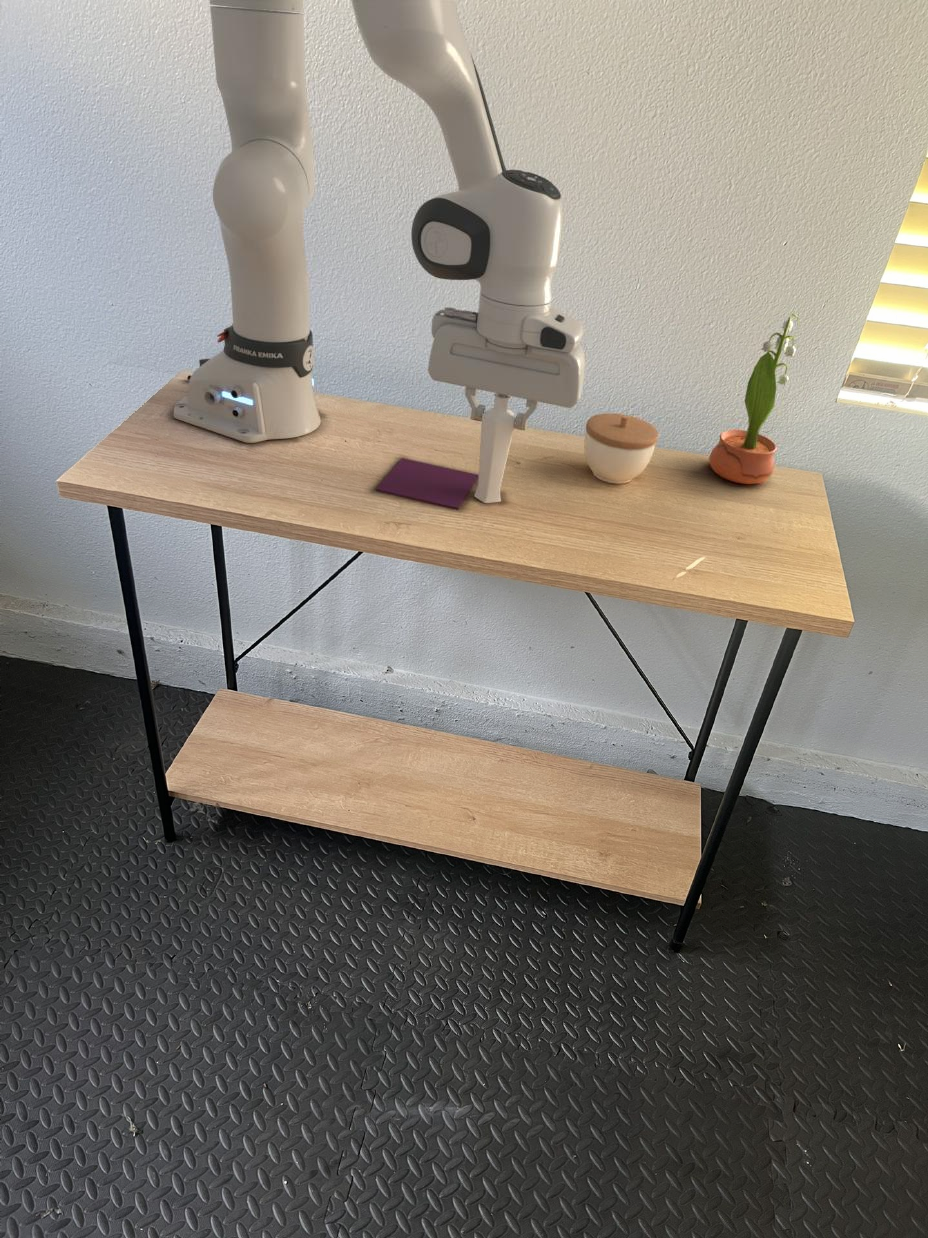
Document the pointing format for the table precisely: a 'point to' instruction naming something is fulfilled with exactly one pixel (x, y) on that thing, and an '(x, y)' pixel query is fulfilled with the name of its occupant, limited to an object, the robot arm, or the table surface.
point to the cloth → (428, 483)
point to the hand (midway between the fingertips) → (498, 423)
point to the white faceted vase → (494, 448)
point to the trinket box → (618, 446)
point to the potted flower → (754, 421)
